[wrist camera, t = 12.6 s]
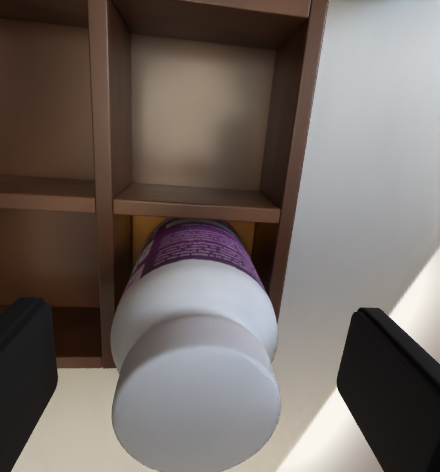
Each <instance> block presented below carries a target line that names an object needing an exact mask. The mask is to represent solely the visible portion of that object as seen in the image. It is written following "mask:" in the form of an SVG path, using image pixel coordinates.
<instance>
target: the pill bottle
mask: <svg viewBox="0 0 440 472" xmlns="http://www.w3.org/2000/svg"><path fill="white" fill-rule="evenodd" d="M110 340H111V352H112V356H113V360H114V363H115V365H116V368H117V370H118V372H119V374H120V376H119V379H118V383H117V387H116V391H115V396H114V400H113V405H112V425H113V428H114V432H115V434H116V437H117V439H118V441H119V442H120V444H121V445H122V447H123V448H124V449H125V450H126V451H127V452H128V453H129V454H130V455H131V456H132V457H133V458H134V459H136V460H137V461H139V462H140V463H142V464H143V465H145V466H147V467H149V468H151V469H154V470H157V471H160V472H220V471H224V470H226V469H230V468H232V467H234V466H236V465H238V464H240V463H242V462H244V461H245V460H247V459H248V458H250V457H251V456H253V455H254V454H255V453H257V452H258V451H259V450H260V449H261V448H262V447H263V446H264V445H265V444H266V442H267V441H268V440H269V438H270V437H271V435H272V434H273V432H274V430H275V428H276V425H277V423H278V419H279V416H280V411H281V401H280V392H279V388H278V384H277V381H276V378H275V375H274V372H273V369H272V366H271V363H272V361H273V358H274V355H275V352H276V347H277V340H278V328H277V321H276V316H275V313H274V309H273V306H272V303H271V301H270V298H269V296H268V295H267V293H266V291H265V288H264V286H263V284H262V282H261V280H260V278H259V276H258V274H257V272H256V270H255V268H254V266H253V264H252V261H251V259H250V257H249V255H248V253H247V251H246V249H245V246H244V244H243V242H242V240H241V238H240V237H239V235H238V233H237V232H236V230H235V229H234V228H233V227H232V226H231V225H230V224H229V223H227V222H226V221H225V220H206V219H188V218H170V217H168V218H166V219H165V220H163V221H162V222H161V223H159V224H158V225H157V226H156V227H155V228H154V229H153V231H152V232H151V233H150V235H149V236H148V238H147V240H146V242H145V244H144V246H143V248H142V251H141V253H140V256H139V258H138V260H137V262H136V265H135V267H134V269H133V271H132V274H131V276H130V279H129V281H128V284H127V286H126V288H125V290H124V293H123V295H122V297H121V299H120V302H119V304H118V307H117V310H116V313H115V316H114V319H113V323H112V327H111V336H110Z"/></svg>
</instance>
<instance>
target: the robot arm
mask: <svg viewBox="0 0 440 472" xmlns="http://www.w3.org/2000/svg"><path fill="white" fill-rule="evenodd" d="M57 382H58V373H57V363H56V353H55V342H54V332H53V322H52V312H51V305H50V304H49V303H45V301H44V299H43V298H35V297H20V298H18V299H17V300H16V301H15V302H14V303H13V304H12V305H11V306H10V307H8V308H7V309H6V310H5V311H4V312H3V313H2V314H1V315H0V472H11V470H12V468H13V467H14V465H15V463H16V461H17V459H18V457H19V456H20V454H21V452H22V450H23V448H24V446H25V445H26V443H27V441H28V439H29V437H30V435H31V434H32V432H33V430H34V428H35V426H36V424H37V423H38V421H39V419H40V417H41V415H42V413H43V412H44V410H45V408H46V406H47V404H48V402H49V401H50V399H51V397H52V395H53V393H54V391H55V389H56V386H57ZM337 388H338V391H339V393H340V394H341V396H342V398H343V400H344V401H345V403H346V405H347V407H348V408H349V410H350V412H351V414H352V416H353V417H354V419H355V421H356V423H357V425H358V426H359V428H360V430H361V432H362V433H363V435H364V437H365V439H366V441H367V442H368V444H369V446H370V448H371V449H372V451H373V453H374V455H375V457H376V458H377V460H378V462H379V464H380V465H381V467H382V469H383V471H384V472H440V364H439V363H438V362H437V361H435V359H433V358H432V357H431V356H430V355H429V354H428V353H427V352H426V351H425V350H424V349H423V348H422V347H421V346H420V345H419V344H417V343H416V342H415V341H414V340H413V339H412V338H411V337H410V336H409V335H408V334H407V333H406V332H405V331H404V330H402V329H401V328H400V327H399V326H398V325H397V324H396V323H395V322H394V321H393V320H392V319H391V318H389V316H387V315H386V314H385V313H384V312H383V311H382V310H381V309H379V308H359V309H358V310H357V312H354V313H353V315H352V318H351V322H350V326H349V330H348V334H347V339H346V343H345V347H344V351H343V355H342V359H341V363H340V367H339V372H338V376H337Z"/></svg>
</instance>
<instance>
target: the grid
mask: <svg viewBox="0 0 440 472" xmlns="http://www.w3.org/2000/svg"><path fill="white" fill-rule="evenodd" d="M328 3H329V0H0V315H1V314H2V313H3V312H4V311H5V310H6V309H7V308H8V307H10V306H11V305H12V304H13V303H14V302H15V301H16V300H17V299H18V298H20V297H35V298H43V299H44V301H45V303H49V304H50V305H51V312H52V322H53V332H54V342H55V353H56V363H57V368H102V367H103V368H116V365H115V363H114V360H113V356H112V352H111V340H110V336H111V327H112V323H113V319H114V316H115V313H116V310H117V307H118V304H119V302H120V299H121V297H122V295H123V293H124V290H125V288H126V286H127V284H128V281H129V279H130V276H131V274H132V271H133V269H134V267H135V265H136V262H137V260H138V258H139V256H140V253H141V251H142V248H143V246H144V244H145V242H146V240H147V238H148V236H149V235H150V233H151V232H152V231H153V229H154V228H155V227H156V226H157V225H158V224H159V223H161V222H162V221H163V220H165V219H166V218H168V217H170V218H188V219H206V220H225V221H226V222H227V223H229V224H230V225H231V226H232V227H233V228H234V229H235V230H236V232H237V233H238V235H239V237H240V238H241V240H242V242H243V244H244V246H245V249H246V251H247V253H248V255H249V257H250V259H251V261H252V264H253V266H254V268H255V270H256V272H257V274H258V276H259V278H260V280H261V282H262V284H263V286H264V288H265V291H266V293H267V295H268V296H269V298H270V301H271V303H272V306H273V309H274V313H275V316H276V321H277V325H278V318H279V312H280V306H281V299H282V293H283V287H284V280H285V274H286V268H287V262H288V255H289V249H290V243H291V236H292V230H293V224H294V217H295V211H296V205H297V198H298V192H299V186H300V180H301V173H302V167H303V161H304V154H305V148H306V142H307V135H308V129H309V123H310V116H311V110H312V104H313V98H314V91H315V85H316V79H317V72H318V66H319V60H320V53H321V47H322V41H323V34H324V28H325V22H326V16H327V9H328Z"/></svg>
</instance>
